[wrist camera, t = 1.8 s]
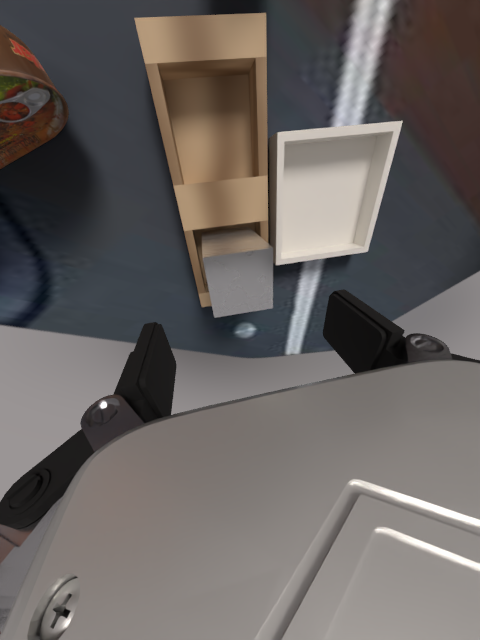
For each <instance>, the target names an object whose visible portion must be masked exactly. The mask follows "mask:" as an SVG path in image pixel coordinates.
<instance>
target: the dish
mask: <svg viewBox="0 0 480 640" xmlns="http://www.w3.org/2000/svg"><path fill="white" fill-rule="evenodd" d="M402 122H403V121H396V122H385V123H374V124H363V125H352V126H341V127H330V128H319V129H308V130H297V131H286V132H277V133H276V134H274V135H273V136H271V137H270V138H269V239H270V246H272V247H273V263H274V264H275V265H282V264H289V263H295V262H302V261H309V260H316V259H322V258H329V257H336V256H343V255H349V254H356V253H363V252H368V248H369V245H370V241H371V237H372V233H373V230H374V226H375V222H376V219H377V215H378V211H379V207H380V204H381V200H382V196H383V192H384V189H385V185H386V181H387V178H388V174H389V170H390V166H391V163H392V159H393V155H394V152H395V148H396V144H397V140H398V137H399V133H400V129H401V125H402Z"/></svg>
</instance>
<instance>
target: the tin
mask: <svg viewBox="0 0 480 640" xmlns="http://www.w3.org/2000/svg"><path fill="white" fill-rule="evenodd" d="M68 115H69V112H68V106H67V103H66V101H65V99H64V98H63V96H62V95H61V94H60V93H59V92H58V91H57V89H56V88H55V86H54V85H53V83H52V82H51V80H50V78H49V77H48V75H47V73H46V72H45V70H44V69H43V67H42V66H41V64H40V63H39V61H38V60H37V58H36V57H35V56H34V54H33V53H32V52H31V50H30V49H29V48H28V47H27V46H26V45H25V44H24V43H23V42H22V41H21V40H20V39H19V38H18V37H16V36H15V35H14V34H13V33H11V32H10V31H8V30H7V29H5V28H4V27H2V26H1V25H0V169H2V168H3V167H5V166H7V165H8V164H10V163H12V162H13V161H15V160H17V159H18V158H20V157H22V156H24V155H26V154H27V153H29V152H31V151H32V150H34V149H36V148H37V147H39V146H41V145H43V144H44V143H46V142H48V141H49V140H51V139H52V138H54V137H55V136H56V135H57V134H58V133H59V132H60V131H61V130H62V129H63V127H64V126H65V124H66V122H67V120H68Z"/></svg>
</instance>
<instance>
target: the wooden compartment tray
mask: <svg viewBox="0 0 480 640" xmlns="http://www.w3.org/2000/svg"><path fill="white" fill-rule="evenodd" d="M134 19H135V23H136V27H137V31H138V36H139V40H140V44H141V49H142V53H143V57H144V61H145V66H146V70H147V74H148V79H149V83H150V87H151V92H152V96H153V100H154V104H155V109H156V113H157V117H158V122H159V126H160V130H161V134H162V139H163V143H164V147H165V152H166V156H167V160H168V165H169V169H170V173H171V177H172V182H173V186H174V190H175V195H176V199H177V203H178V207H179V212H180V216H181V220H182V225H183V229H184V233H185V238H186V242H187V246H188V250H189V255H190V259H191V263H192V268H193V272H194V276H195V281H196V285H197V289H198V293H199V298H200V302H201V306H202V307H207V306H212V304H211V299H210V294H209V289H208V283H207V278H206V273H205V268H204V263H203V258H202V232H209V231H217V230H224V229H232V228H240V227H247V226H248V227H249V228H251V229H252V230H253V231H254V232H255V233H256V234H258V235H259V236H260V237H261V238H262V239H263V240H265V241H266V242H267V243H268V161H267V57H266V13H250V14H224V15H199V16H174V17H149V18H134Z"/></svg>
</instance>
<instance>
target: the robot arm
mask: <svg viewBox="0 0 480 640" xmlns="http://www.w3.org/2000/svg"><path fill="white" fill-rule="evenodd" d="M403 333H404V330H403V329H402V328H400V327H399V326H397V325H396V324H394V323H393V322H391V321H390V320H388V319H387V318H386V317H384V316H383V315H381V314H380V313H378V312H377V311H375V310H374V309H372V308H371V307H369V306H368V305H367V304H365V303H364V302H362V301H361V300H359V299H358V298H356V297H355V296H353V295H352V294H350V293H349V292H347V291H346V290H339V291H334V292H333V293H332V294H331V295H330V296H329V301H328V306H327V312H326V318H325V323H324V329H323V336H324V338H325V339H326V340H327V342H328V343H329V344H330V345H331V346H332V347H333V349H334V350H335V351H336V352H337V353H338V354H339V356H340V357H341V358H342V359H343V360H344V361H345V363H346V364H347V365H348V366H349V367H350V368H351V370H352V371H353V372H354V373H355V374H352V375H347V376H342V377H337V378H333V379H328V380H323V381H319V382H314V383H309V384H305V385H301V386H296V387H292V388H287V389H282V390H278V391H273V392H268V393H264V394H260V395H255V396H251V397H246V398H242V399H237V400H232V401H228V402H224V403H219V404H215V405H210V406H206V407H202V408H198V409H193V410H190V411H185V412H181V413H177V414H173V415H171V409H172V399H173V391H174V383H175V374H176V361H175V358H174V356H173V353H172V351H171V348H170V345H169V343H168V340H167V337H166V335H165V332H164V330H163V327H162V325H161V324H157V322H154V323H148V324H144V326H143V329H142V331H141V334H140V336H139V339H138V341H137V344H136V347H135V349H134V351H133V352H131V353H130V355H129V357H128V360H127V362H126V365H125V367H124V369H123V372H122V374H121V377H120V379H119V382H118V385H117V387H116V389H115V392H114V394H113V395H109V396H106V397H103V398H101V399H99V400H98V401H96V402H95V403H94V404H93V405H91V406H90V407H89V408H88V409H87V411H86V412H85V413H84V415H83V417H82V419H81V427H82V429H81V430H80V431H78V432H77V433H76V434H75V435H73V436H72V437H71V438H70V439H68V440H67V441H66V442H65V443H63V444H62V445H61V446H60V447H58V448H57V449H56V450H55V451H54V452H52V453H51V454H50V455H48V456H47V457H46V458H45V459H43V460H42V461H41V462H40V463H38V464H37V465H36V466H35V467H33V468H32V469H31V470H29V471H28V472H27V473H26V474H24V475H23V476H22V477H21V478H20V479H19V480H18V481H17V482H15V483H14V484H13V485H12V487H11V488H10V489H9V490H8V491H7V493H6V494H5V495H4V497H3V499H2V500H1V502H0V640H480V361H479V360H475V359H471V358H467V357H463V356H459V355H455V354H451V353H450V351H449V348H448V347H447V345H446V344H445V343H444V342H442V341H440V340H439V339H437V338H435V337H432V336H429V335H425V334H410V335H408V336H407V337H406V338H405V337H403V336H402V335H403Z"/></svg>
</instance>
